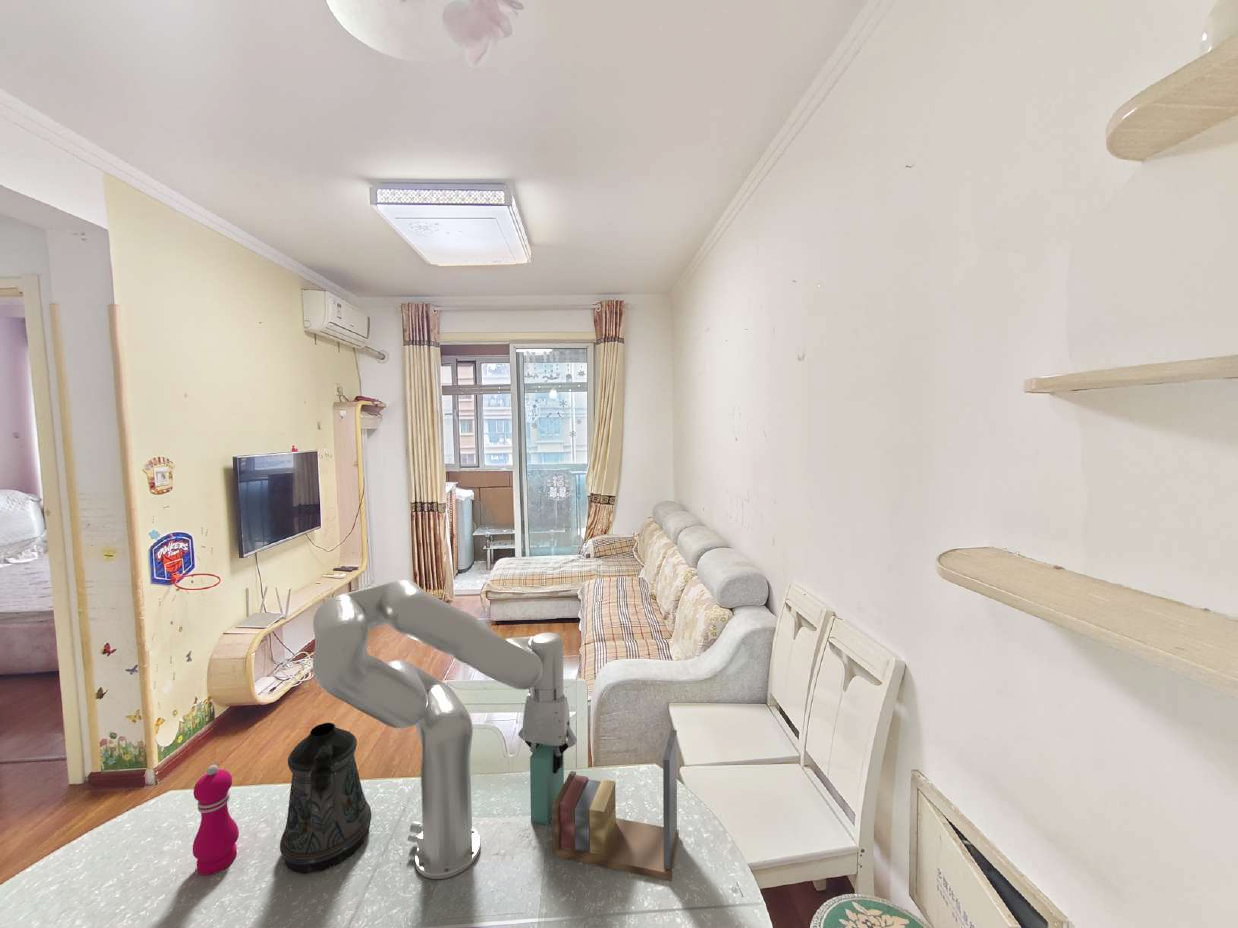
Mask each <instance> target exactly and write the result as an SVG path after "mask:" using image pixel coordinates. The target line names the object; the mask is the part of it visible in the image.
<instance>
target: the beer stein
mask: <svg viewBox="0 0 1238 928" xmlns="http://www.w3.org/2000/svg"><path fill="white" fill-rule="evenodd" d="M357 745H358V740H357V738H356V736H355V735H354V734H353V733H352V732H350V731H349V730H346V729H343V728H339V727H337V726H336V725H335V723H332V722H323V723H321V724H318V725H316V726H314V727H313V728H311V731H310V732H309V734H308V735H307V736H306V737H305V738H304V739H302V740H301V741H300V742H298V743H297V744H296V746H295V747H294V748H293V749H292V751H291V752H290V753H289V755H288V758H287V766H288V769H289V771H290V772H291V774H292V775H291V783H290V790H289V798H288V799H289V800H288V809H287V818H286V824H285V828H284V831H283V833H282V836H281V838H280V842H279V852H280V853H281V856H282V859H283V862H284V866H285V867H286V868H287V869H288V870H290V872H293V873H297V874H302V875H307V874H312V873H318V872H323V871H326V870H328V869H331V868H333V867H336V866H338V865H340V864H342V863H343V862H344V861H346V860H347V859H348V858H351V857H352V856H353V855H355V853H356V852H357V851H358V850H360V848H361V847H362V846H363V845H364V844H365V842H366V839H367V837H368V836H369V832H370V826H371V821H372V810H371V807H370V804H369V802H368V800H367V799H366V796H365V794H364V790H363V787H362V784H361V778H360V774H359V770H358V766H357V761H356V757H355V753H356V750H357Z"/></svg>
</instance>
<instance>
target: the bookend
mask: <svg viewBox="0 0 1238 928" xmlns="http://www.w3.org/2000/svg"><path fill="white" fill-rule="evenodd" d="M669 731H670V732H669V736H668V740H667V744H666V748H665V752H664V755H663V759H662V760H663V761H662V763H663V765H662V767H663V768H662V769H663V770H662V773H663V774H662V777H663V778H662V779H663V780H662V781H663V782H662V783H663V785H662V786H663V787H662V789H663V790H662V793H663V795H662V797H663V799H662V800H663V801H662V802H663V807H662V808H663V809H662V810H663V817H662V818H663V823H662V824H663V825H662V827H663V845H664V869H669V870H670V866H671V860H672V855H673V849H674V843H675V838H676V832H677V830H678V783H677V782H678V769H677V768H678V766H677V765H678V761H677V760H678V753H677V752H678V750H677V749H678V741H677V740H678V730H677V729H672V728H671V729H670V730H669Z"/></svg>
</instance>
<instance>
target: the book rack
mask: <svg viewBox="0 0 1238 928" xmlns="http://www.w3.org/2000/svg"><path fill="white" fill-rule="evenodd" d="M616 795H617V794H616V781H614V780H610V779H609V780H608V779H603V778H602V779H601V780H597V779H596V780H594V779H589V776H585V775H579V774H577V771H575V770H574V771H573V770H570V772H569V773H568V775H567V777H566V779H565V780H564V785H563V787H562V789H561V791H560V792H559V794H558V796H557V798H556V800H555V802H554V804H553V806H552V817H551V819H552V856H553V857H555V858H561V859H565V860H570V861H575V862H578V863H579V862H580V863H583V864H587V865H593V866H597V867H603V868H607V869H611V870H615V871H622V872H627V873H631V874H635V875H639V876H646V877H650V878H654V879H658V880H662V881H668V882H671V881H672V878H673V871H674V865H675V860H676V854H677V849H678V843H679V838H680V837H679V833H680V830H679V829H677V832H676V838H675V843H674V849H673V855H672V860H671V866H670V870H669V869H664V845H663V826H661V825H660V826H659V825H654V824H651V823H646V822H645V823H644V822H639V821H636V820H635V821H634V820H628V819H623V818H620V817H619V818H618V817H617V816H616V814H617V813H616V809H617V808H616V806H617V805H616V800H617V799H616Z"/></svg>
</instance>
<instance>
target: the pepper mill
mask: <svg viewBox="0 0 1238 928" xmlns="http://www.w3.org/2000/svg"><path fill="white" fill-rule="evenodd" d="M232 784H233V777H232V774H231V772H229V771H228V770H225V769H221V768H220V769H219V767H218V765H216V764H212V765H210V766H209V767H208V768H207V769H206V774H204V775H202V776H200V778H199V779H198V780H197V781H196V783H195V785H194V787H193V792H192V793H193V798H194V799H195V800H196V801H197V804H196V805H197V811H198V813H200V815H201V817H200V825H199V828H198V830H197V833H196V834H195V837H194V840H193V843H192V856H193V857H194V858H195V859H196V872H197V873H198V875H200V876H201V875H202V876H209V875H213V874H215V873H218V872H220V871H222V870H224V869H226V868H227V867H228V866H230V865H231V864H232V863H233V862H234V860H235V859H236V858H237V855H238V854H237V853H238V849H237V844H236V843H237V841H238V839H239V836H240V831H239V827H238V825H237V823H236V821H235V820H234V819H233V818H232V816H231V815H230V813H229V812H230V811H229V809H228V808H229V807H228V803H229V801H230V799H231V796H230V795H231V792H230V789H231V788H232V787H231V786H232Z"/></svg>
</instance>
